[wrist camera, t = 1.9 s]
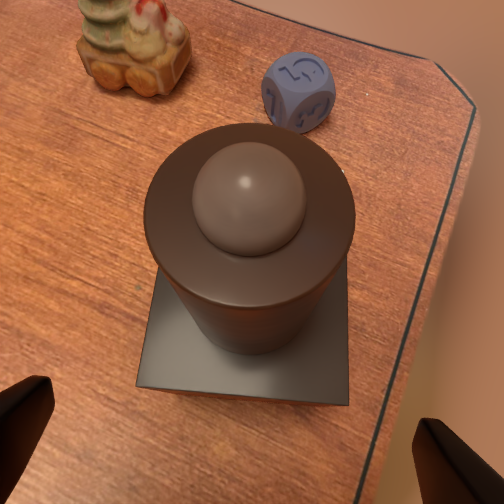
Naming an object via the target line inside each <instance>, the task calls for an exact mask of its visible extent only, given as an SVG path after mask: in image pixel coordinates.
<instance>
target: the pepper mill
mask: <svg viewBox="0 0 504 504" xmlns="http://www.w3.org/2000/svg"><path fill="white" fill-rule="evenodd" d="M355 219H356V214H355V204H354V199H353V195H352V191H351V189H350V186H349V184H348V181H347V179H346V177H345V175H344V174H343V172H342V170H341V168H340V167H339V166H338V165H337V163H336V162H335V161H334V159H333V158H332V157H331V156H330V155H329V154H328V153H327V152H326V151H325V150H324V149H322V148H321V147H320V146H318V145H317V144H316V143H314V142H313V141H311V140H310V139H308V138H306V137H305V136H303V135H300V134H298V133H296V132H294V131H291V130H288V129H285V128H282V127H278V126H274V125H269V124H261V123H239V124H231V125H225V126H221V127H217V128H214V129H211V130H208V131H206V132H203V133H201V134H199V135H197V136H195V137H193V138H191V139H190V140H188V141H186V142H185V143H184V144H182V145H181V146H179V147H178V148H177V149H176V150H175V151H174V152H173V153H171V154H170V155H169V156H168V157H167V159H166V160H165V161H164V162H163V163H162V165H161V166H160V167H159V169H158V171H157V172H156V174H155V175H154V177H153V179H152V182H151V184H150V186H149V189H148V192H147V195H146V199H145V205H144V211H143V224H144V231H145V237H146V240H147V243H148V246H149V249H150V251H151V253H152V255H153V258H154V260H155V261H156V263H157V264H158V266H159V267H160V269H161V270H162V272H163V274H164V275H165V277H166V278H167V280H168V281H169V283H170V284H171V286H172V287H173V289H174V290H175V292H176V293H177V295H178V296H179V298H180V300H181V301H182V303H183V304H184V306H185V307H186V309H187V310H188V312H189V313H190V315H191V316H192V318H193V319H194V321H195V322H196V324H197V325H198V327H199V328H200V330H201V331H202V333H203V334H204V335H205V336H206V337H207V338H208V339H209V340H211V341H212V342H213V343H214V344H216V345H218V346H219V347H221V348H223V349H225V350H227V351H230V352H234V353H237V354H244V355H256V354H263V353H267V352H271V351H273V350H276V349H278V348H280V347H281V346H283V345H285V344H286V343H288V342H289V341H290V340H291V339H293V337H294V336H295V335H296V334H297V333H298V332H299V331H300V329H301V328H302V327H303V325H304V323H305V322H306V320H307V319H308V317H309V315H310V314H311V312H312V311H313V309H314V307H315V306H316V304H317V303H318V301H319V299H320V298H321V296H322V295H323V293H324V291H325V290H326V288H327V287H328V285H329V283H330V282H331V280H332V279H333V277H334V275H335V274H336V272H337V271H338V269H339V267H340V266H341V264H342V262H343V261H344V259H345V257H346V255H347V253H348V251H349V248H350V246H351V243H352V240H353V235H354V230H355Z"/></svg>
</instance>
